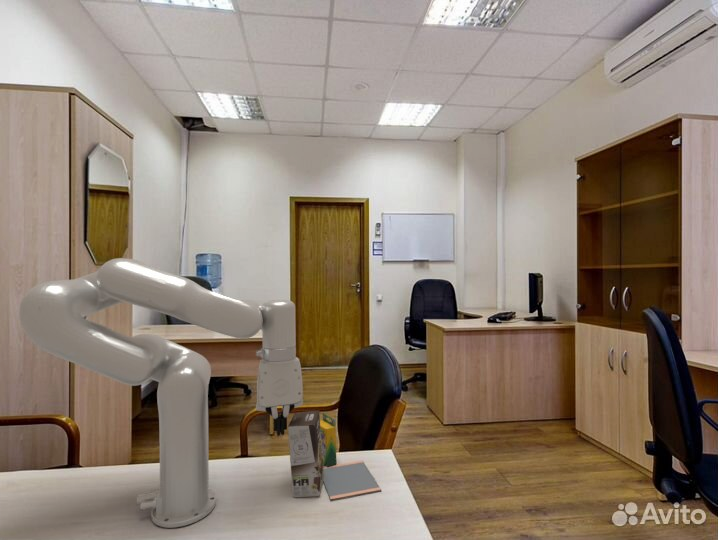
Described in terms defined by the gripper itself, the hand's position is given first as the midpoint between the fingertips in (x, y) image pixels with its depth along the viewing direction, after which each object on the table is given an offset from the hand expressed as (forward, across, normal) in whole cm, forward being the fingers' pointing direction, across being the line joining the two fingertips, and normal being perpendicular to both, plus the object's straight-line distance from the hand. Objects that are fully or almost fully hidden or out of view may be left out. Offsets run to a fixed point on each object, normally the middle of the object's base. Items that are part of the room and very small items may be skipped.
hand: (280, 432), depth 87 cm
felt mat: (+14, +16, 0) cm, 21 cm away
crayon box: (+14, +13, +10) cm, 21 cm away
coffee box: (+14, +7, 0) cm, 15 cm away
